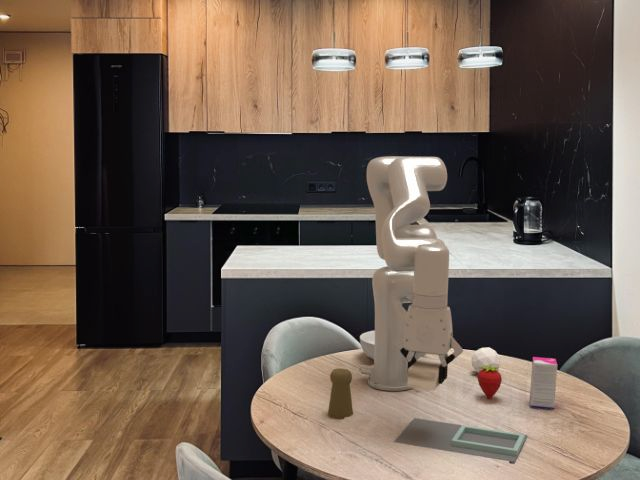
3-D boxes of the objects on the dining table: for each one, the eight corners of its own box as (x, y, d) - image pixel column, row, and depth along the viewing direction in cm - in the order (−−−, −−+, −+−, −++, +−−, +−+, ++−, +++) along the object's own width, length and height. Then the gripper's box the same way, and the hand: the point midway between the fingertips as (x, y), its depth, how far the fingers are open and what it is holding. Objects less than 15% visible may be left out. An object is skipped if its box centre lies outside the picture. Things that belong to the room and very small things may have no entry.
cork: (356, 412, 204) (357, 367, 202) (348, 420, 198) (349, 374, 197) (332, 408, 206) (333, 364, 204) (324, 417, 200) (325, 372, 199)
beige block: (434, 390, 183) (434, 373, 183) (407, 386, 185) (407, 369, 185) (445, 377, 192) (446, 359, 192) (420, 373, 195) (420, 356, 194)
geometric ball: (491, 383, 236) (510, 362, 234) (478, 379, 230) (497, 358, 228) (474, 364, 240) (493, 344, 239) (460, 360, 235) (479, 339, 233)
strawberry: (480, 404, 211) (481, 364, 209) (474, 394, 218) (475, 356, 217) (503, 404, 211) (505, 365, 209) (497, 394, 218) (498, 356, 217)
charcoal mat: (393, 443, 185) (393, 441, 185) (414, 419, 199) (414, 417, 199) (514, 463, 175) (514, 461, 175) (526, 436, 190) (527, 435, 189)
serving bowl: (434, 353, 255) (435, 330, 254) (427, 373, 235) (427, 349, 234) (366, 348, 260) (366, 326, 259) (353, 367, 240) (353, 343, 239)
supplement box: (555, 410, 207) (557, 364, 206) (530, 408, 208) (532, 362, 207) (553, 402, 213) (556, 357, 211) (529, 400, 214) (531, 356, 212)
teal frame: (451, 445, 183) (451, 440, 183) (461, 430, 192) (462, 425, 192) (517, 456, 178) (517, 450, 177) (524, 439, 187) (525, 434, 187)
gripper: (387, 300, 186) (384, 379, 189) (465, 308, 179) (461, 390, 182) (397, 293, 192) (394, 369, 195) (472, 301, 186) (469, 380, 189)
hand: (427, 379), depth 189 cm, fingers closed on beige block, 6 cm apart
